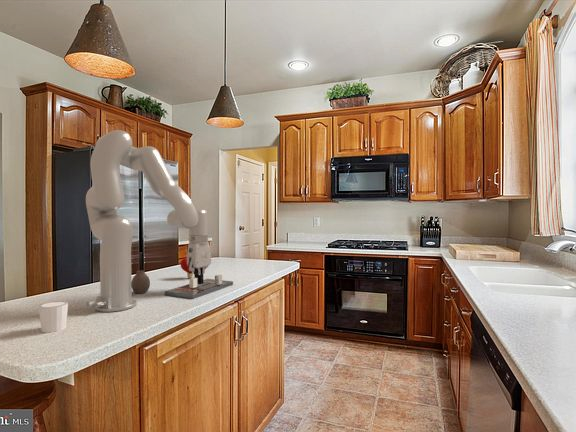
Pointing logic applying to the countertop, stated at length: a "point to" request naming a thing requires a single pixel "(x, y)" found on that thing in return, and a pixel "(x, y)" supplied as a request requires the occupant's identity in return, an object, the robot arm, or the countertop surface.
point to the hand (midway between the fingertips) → (199, 283)
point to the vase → (140, 282)
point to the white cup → (53, 316)
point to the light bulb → (186, 268)
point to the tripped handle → (192, 282)
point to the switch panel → (200, 288)
